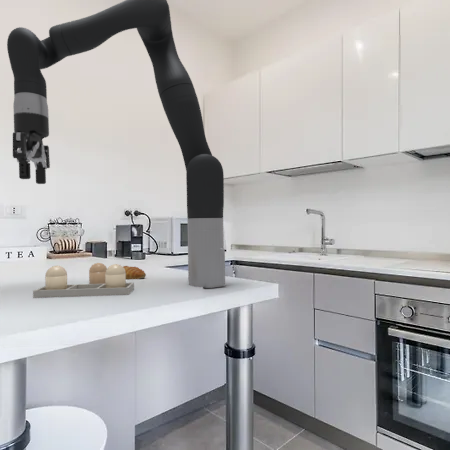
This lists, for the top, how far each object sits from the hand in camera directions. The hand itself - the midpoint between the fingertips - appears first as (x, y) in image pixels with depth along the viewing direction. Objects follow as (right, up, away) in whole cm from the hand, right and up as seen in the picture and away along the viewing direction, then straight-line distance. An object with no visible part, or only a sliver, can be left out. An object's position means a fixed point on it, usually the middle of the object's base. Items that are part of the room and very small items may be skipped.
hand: (33, 181), depth 85 cm
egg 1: (+9, -26, -7) cm, 29 cm away
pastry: (+19, -27, +20) cm, 39 cm away
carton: (+16, -27, -7) cm, 32 cm away
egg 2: (+15, -27, +3) cm, 31 cm away
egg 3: (+22, -26, -6) cm, 35 cm away
